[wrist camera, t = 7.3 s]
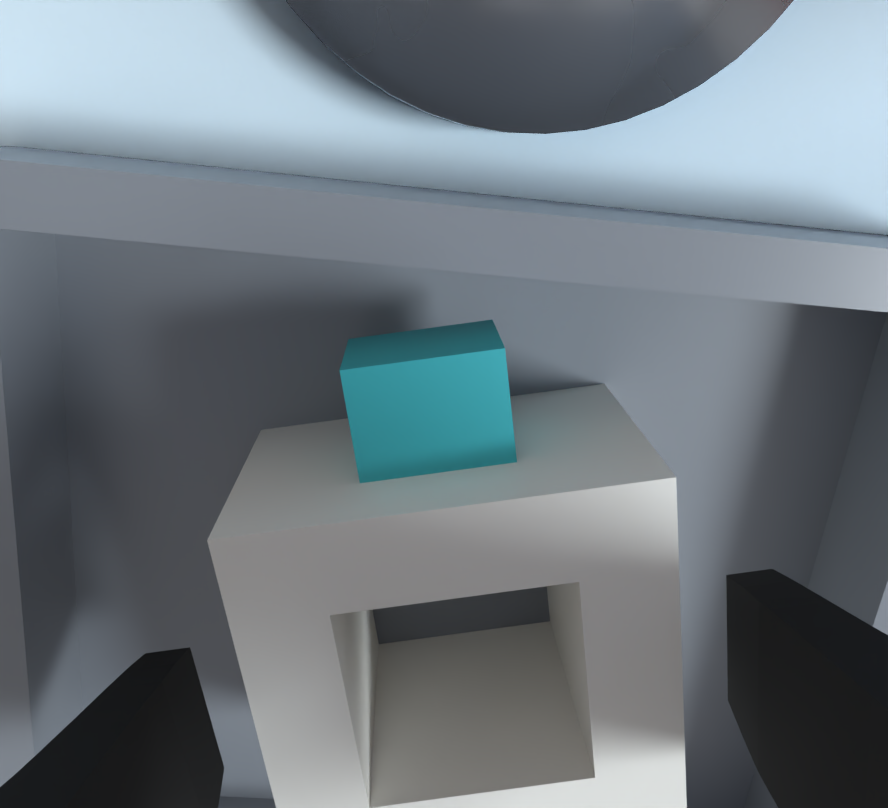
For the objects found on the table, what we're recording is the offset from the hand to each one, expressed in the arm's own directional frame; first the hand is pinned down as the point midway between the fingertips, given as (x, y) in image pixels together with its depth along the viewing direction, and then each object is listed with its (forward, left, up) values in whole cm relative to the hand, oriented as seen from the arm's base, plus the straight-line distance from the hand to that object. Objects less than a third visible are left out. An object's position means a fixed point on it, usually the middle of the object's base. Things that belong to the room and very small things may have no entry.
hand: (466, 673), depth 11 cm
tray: (0, 0, -3) cm, 3 cm away
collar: (0, 0, -3) cm, 3 cm away
